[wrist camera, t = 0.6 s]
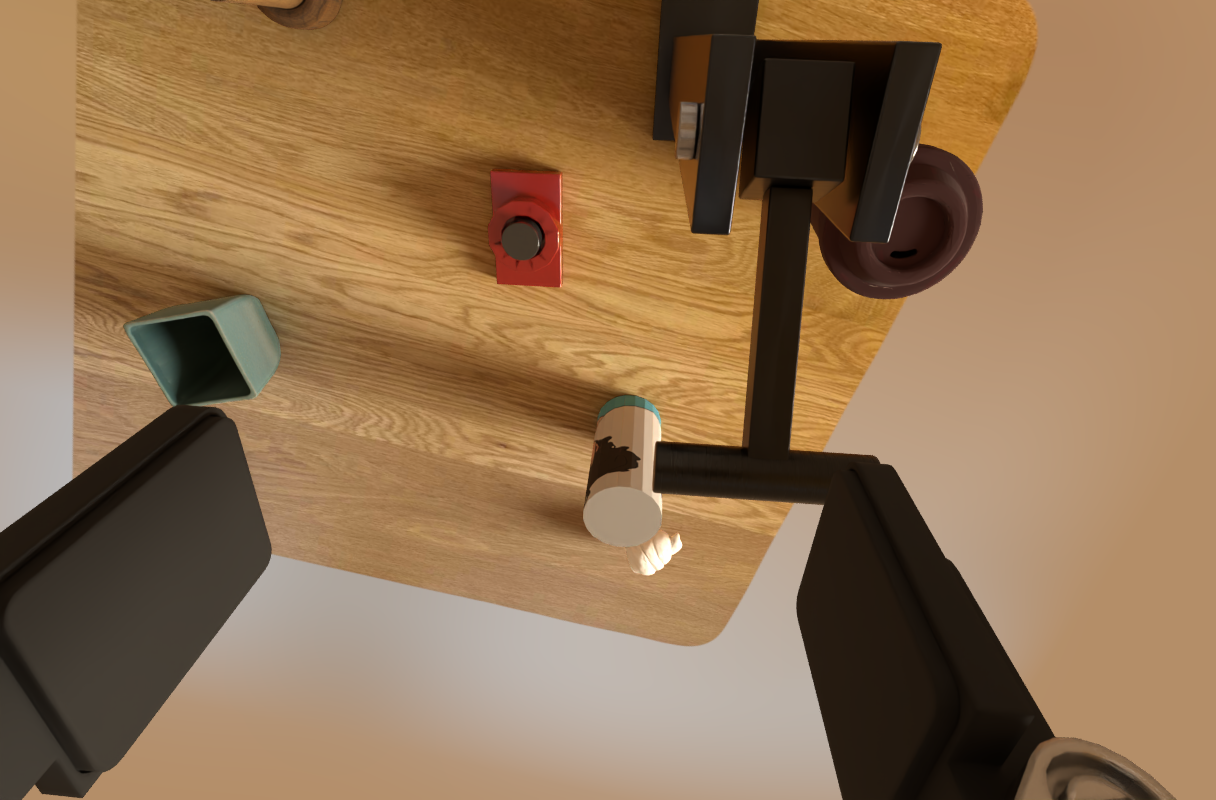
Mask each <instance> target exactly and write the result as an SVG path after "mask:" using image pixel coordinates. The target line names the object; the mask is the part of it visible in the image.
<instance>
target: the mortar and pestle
mask: <svg viewBox="0 0 1216 800" xmlns="http://www.w3.org/2000/svg"><path fill="white" fill-rule="evenodd" d="M212 1H217V2H230V3H242V4H252V5H257V6H258V8H259V9H260V10H261V11H262V12H263V13H264V14H265V15H266V16H268V17H269V18H270V19H272V20H273V21H275V22H276V23H278V24H281V25H283V26H286V27H289V28H295V29H307V30H312V29H318V28H322V27H324V26H326V25H328V24H329V23H330V22H331V21H332V20H333V19H334V18H335V17H336V15H337V14H338V12H339V9H340V6H341V3H342V0H212Z"/></svg>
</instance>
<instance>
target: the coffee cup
mask: <svg viewBox="0 0 1216 800" xmlns="http://www.w3.org/2000/svg"><path fill="white" fill-rule="evenodd" d="M982 213H983V203H982V194H981V190H980V186H979V184H978V181H977V179H976V177H975V175H974V174H973V172H972V171H971V169H970V168H969V167H968V166H967V165H966V164H965V163H964V162H963V161H962V160H961V159H959V158H958V157H957V156H955V155H953V154H951V153H949V152H947V151H944V150H942V149H939V148H937V147H934V146H930V145H925V144H918V148H917V151H916V154H915V156H914V158H913V160H912V162H911V163H910V166H909V169H908V173H907V177H906V180H905V184H904V188H903V192H902V195H901V199H900V203H899V206H898V210H897V214H896V217H895V221H894V225H893V228H892V232H891V236H890V239H889V242H888V243H868V242H851V241H850V240H849V239H848V238H847V237H846V236H845V235H844V234H843V233H842V232H841V231H840V230H839V229H838V228H837V227H836V226H835V225H834V224H833V223H832V222H831V221H830V220H829V218H828V217H827V216H826V215H825V214H824V213H823V212H822V211H821V210H820V209H819V208H818V207H817V206H816V205H815V204H814V203H812V209H811V220H810V222H811V224H812V226H813V228H814V230H815V232H816V234H817V236H818V238H819V245H820V250H821V253H822V257H823V259H824V261H825V263H826V265H827V266H828V268H829V270H830V271H831V272H832V274H833V275H834V276H835V277H836V279H837V280H838V281H839V282H840V283H841V284H842V285H844V286H845V287H846V288H848V289H849V290H851V291H853V292H855V293H857V294H859V295H862V296H865V297H869V298H875V299H897V298H903V297H906V296H910V295H913V294H917V293H919V292H921V291H923V290H926V289H928V288H929V287H931V286H933V285H935V284H936V283H938V282H940V281H941V280H942V279H944V278H945V277H946V276H947V275H949V274H950V273H951V272H952V271H953V270H954V269H955V268H956V267H957V266H958V265H959V264H960V263H961V261H962V260H963V259H964V258H965V256H966V254H967V253H968V252H969V250H970V249H971V246H972V245H973V243H974V241H975V239H976V236H977V234H978V231H979V228H980V225H981V219H982Z"/></svg>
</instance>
